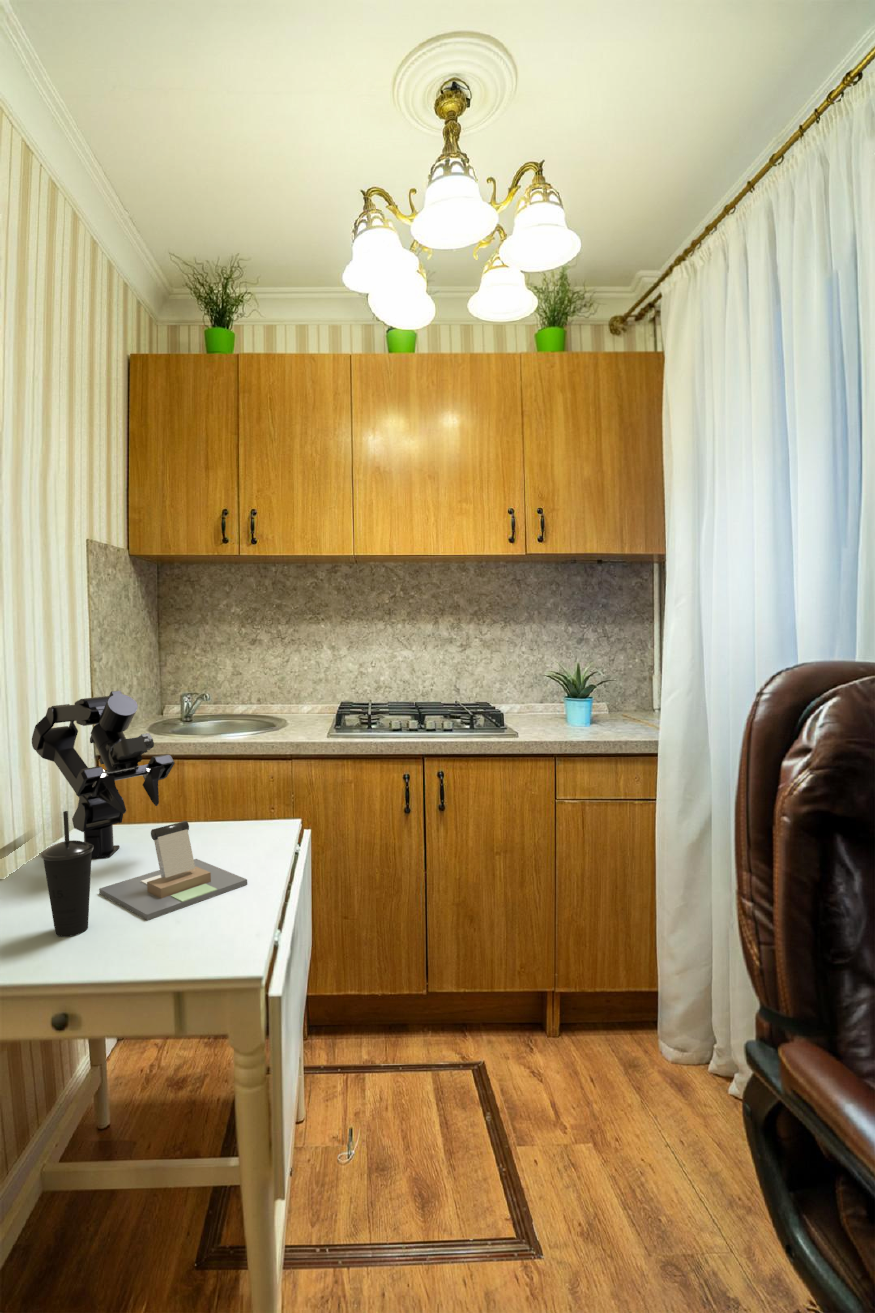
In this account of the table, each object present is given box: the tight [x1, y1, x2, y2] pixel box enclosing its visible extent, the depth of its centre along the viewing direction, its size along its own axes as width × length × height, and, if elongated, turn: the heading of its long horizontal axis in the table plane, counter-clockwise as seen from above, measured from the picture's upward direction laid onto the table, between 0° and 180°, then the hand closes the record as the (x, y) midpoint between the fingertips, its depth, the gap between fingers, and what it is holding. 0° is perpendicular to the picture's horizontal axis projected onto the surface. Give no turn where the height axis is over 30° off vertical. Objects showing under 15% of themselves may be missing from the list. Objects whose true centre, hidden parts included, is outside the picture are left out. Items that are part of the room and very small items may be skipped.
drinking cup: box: [40, 810, 93, 938], centre depth 117 cm, size 8×8×20 cm
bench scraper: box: [150, 820, 195, 878], centre depth 134 cm, size 2×7×9 cm, turn 139°
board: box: [98, 858, 248, 921], centre depth 135 cm, size 18×20×3 cm
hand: (141, 808), depth 141 cm, fingers open, 6 cm apart
